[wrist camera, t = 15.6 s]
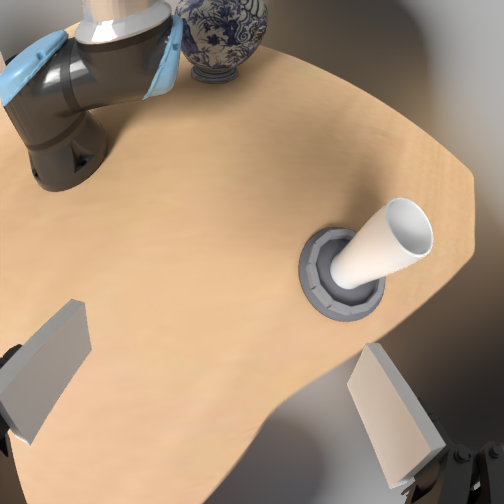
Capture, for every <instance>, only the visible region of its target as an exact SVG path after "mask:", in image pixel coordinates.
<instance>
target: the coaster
mask: <svg viewBox="0 0 504 504" xmlns="http://www.w3.org/2000/svg"><path fill="white" fill-rule="evenodd" d="M356 234H357V233H356V232H354V231H352V230H350V229H346V228H340V227H333V228H327V229H324V230H322V231H320V232H318V233H317V234H315V235H314V236H313V237H312V238H311V239H310V240H309V241H308V242H307V244H306V245H305V247H304V248H303V250H302V253H301V255H300V260H299V279H300V283H301V287H302V289H303V291H304V294H305V295H306V297H307V299H308V300H309V302H310V303H311V304H312V305H313V307H314V308H315V309H316V310H318V311H319V312H320V313H321V314H323V315H325V316H326V317H328V318H330V319H333V320H336V321H342V322H350V321H356V320H359V319H362V318H364V317H366V316H368V315H369V314H370V313H372V312H373V311H374V310H375V309H376V307H377V306H378V304H379V303H380V301H381V299H382V296H383V293H384V288H385V277H386V276H384V277H382V278H379V279H376V280H373V281H371V282H368V283H365V284H363V285H360V286H358V287H356V288H354V289H344V288H341V287H340V286H338V285H337V284H336V283H335V282H334V280H333V279H332V276H331V273H330V265H331V262H332V260H333V258H334V257H335V256H336V255H337V254H338V253H340V252H341V251H342V250H343V248H344V247H345V246H346V245H347V244H348V243H349V242H350V241H351V239H352V238H353V237H354V236H355V235H356Z"/></svg>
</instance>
